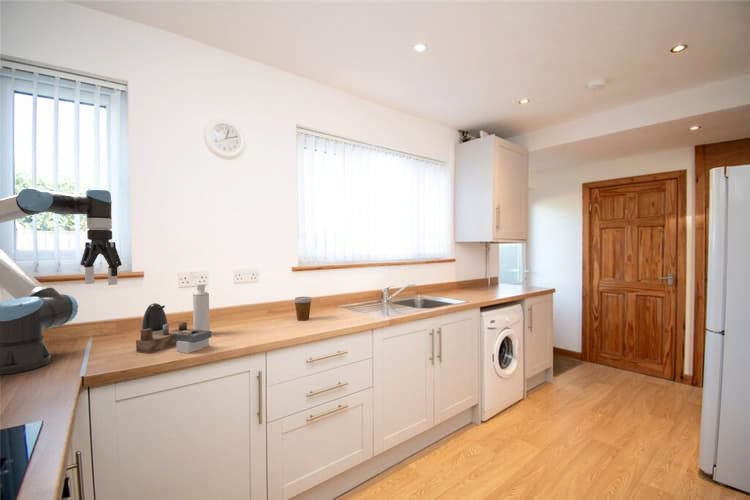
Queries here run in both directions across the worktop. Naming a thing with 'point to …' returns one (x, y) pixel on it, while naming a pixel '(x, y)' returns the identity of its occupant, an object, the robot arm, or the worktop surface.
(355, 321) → the worktop surface
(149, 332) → the plane body
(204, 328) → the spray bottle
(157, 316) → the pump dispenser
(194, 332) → the lever cap
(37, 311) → the robot arm
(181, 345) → the white rectangular block
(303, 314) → the disposable coffee cup
